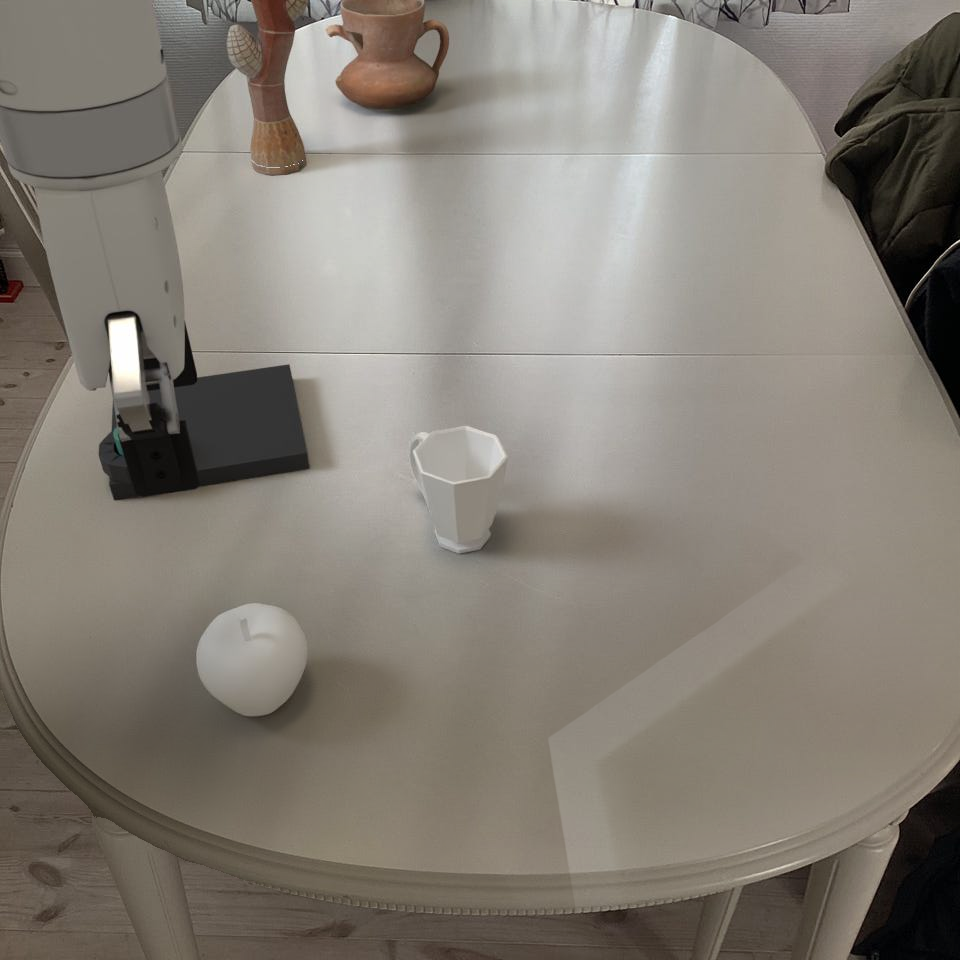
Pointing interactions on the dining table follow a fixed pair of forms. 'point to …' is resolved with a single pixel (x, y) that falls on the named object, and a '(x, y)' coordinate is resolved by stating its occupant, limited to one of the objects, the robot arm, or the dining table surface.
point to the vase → (270, 84)
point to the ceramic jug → (387, 52)
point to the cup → (459, 483)
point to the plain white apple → (252, 658)
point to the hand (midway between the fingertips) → (169, 434)
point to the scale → (228, 428)
